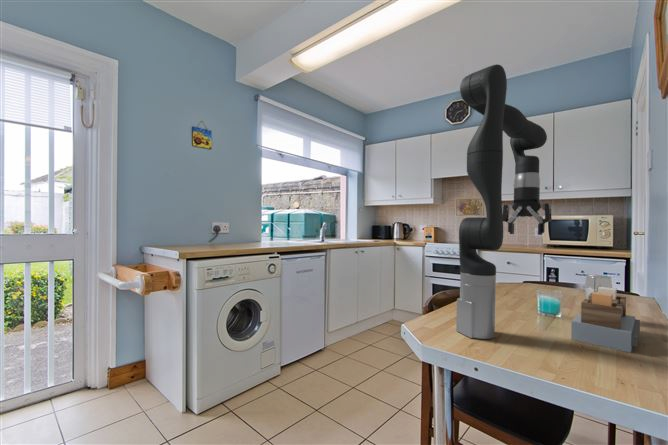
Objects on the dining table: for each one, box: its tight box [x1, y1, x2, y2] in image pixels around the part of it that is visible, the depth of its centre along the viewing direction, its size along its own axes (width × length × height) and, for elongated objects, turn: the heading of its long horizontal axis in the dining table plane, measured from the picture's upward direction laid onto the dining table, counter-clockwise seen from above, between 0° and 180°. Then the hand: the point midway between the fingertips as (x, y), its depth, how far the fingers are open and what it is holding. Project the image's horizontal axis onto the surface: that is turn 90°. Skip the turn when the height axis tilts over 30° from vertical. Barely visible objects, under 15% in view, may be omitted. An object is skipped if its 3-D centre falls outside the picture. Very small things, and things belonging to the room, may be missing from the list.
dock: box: [570, 311, 641, 354], centre depth 89 cm, size 22×13×5 cm, turn 134°
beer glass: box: [584, 274, 613, 299], centre depth 106 cm, size 7×7×15 cm
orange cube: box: [592, 292, 613, 307], centre depth 85 cm, size 4×4×4 cm
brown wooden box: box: [580, 293, 627, 330], centre depth 89 cm, size 20×8×6 cm, turn 134°
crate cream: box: [598, 287, 618, 299], centre depth 94 cm, size 4×4×4 cm
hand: (525, 234), depth 106 cm, fingers open, 8 cm apart
